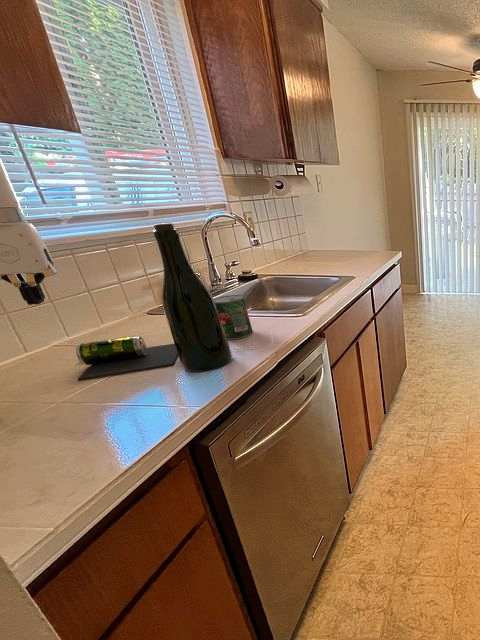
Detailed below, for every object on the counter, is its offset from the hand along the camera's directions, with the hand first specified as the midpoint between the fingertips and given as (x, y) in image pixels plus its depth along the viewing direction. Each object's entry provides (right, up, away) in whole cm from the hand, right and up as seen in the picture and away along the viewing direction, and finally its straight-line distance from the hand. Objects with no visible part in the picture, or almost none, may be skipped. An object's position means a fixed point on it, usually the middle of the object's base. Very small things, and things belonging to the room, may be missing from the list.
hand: (36, 303), depth 90 cm
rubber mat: (+13, -13, +11) cm, 22 cm away
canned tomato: (+29, -6, +27) cm, 40 cm away
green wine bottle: (+33, -14, +9) cm, 37 cm away
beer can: (+3, -12, +7) cm, 14 cm away
